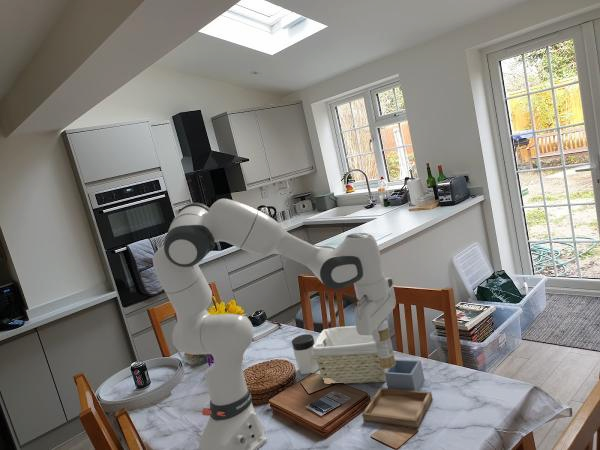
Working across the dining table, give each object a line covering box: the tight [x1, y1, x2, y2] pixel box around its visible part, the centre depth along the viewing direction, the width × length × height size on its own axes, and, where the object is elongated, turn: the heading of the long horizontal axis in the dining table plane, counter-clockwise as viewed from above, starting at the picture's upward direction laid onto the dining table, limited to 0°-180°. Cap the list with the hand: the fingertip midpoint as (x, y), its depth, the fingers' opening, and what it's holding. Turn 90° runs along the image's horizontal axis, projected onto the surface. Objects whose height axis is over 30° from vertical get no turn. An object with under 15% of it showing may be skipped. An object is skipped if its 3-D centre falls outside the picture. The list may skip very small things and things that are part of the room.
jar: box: [291, 333, 320, 375], centre depth 172 cm, size 9×8×12 cm
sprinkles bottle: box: [375, 319, 396, 369], centre depth 131 cm, size 5×5×14 cm
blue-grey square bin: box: [384, 358, 425, 391], centre depth 146 cm, size 9×9×6 cm
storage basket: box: [312, 325, 387, 385], centre depth 160 cm, size 24×16×15 cm
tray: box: [361, 387, 434, 430], centre depth 134 cm, size 14×16×2 cm
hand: (381, 335), depth 131 cm, fingers closed on sprinkles bottle, 4 cm apart
